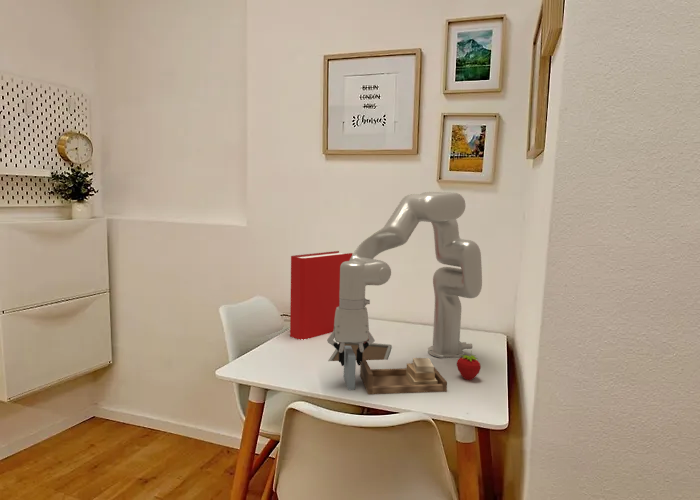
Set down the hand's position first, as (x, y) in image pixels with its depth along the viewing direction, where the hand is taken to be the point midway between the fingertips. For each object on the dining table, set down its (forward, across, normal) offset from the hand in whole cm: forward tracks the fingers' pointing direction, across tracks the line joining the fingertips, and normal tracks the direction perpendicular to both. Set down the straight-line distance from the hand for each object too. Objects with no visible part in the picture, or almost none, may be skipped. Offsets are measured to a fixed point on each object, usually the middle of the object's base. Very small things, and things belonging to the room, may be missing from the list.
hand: (350, 363), depth 143 cm
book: (+7, +4, -56) cm, 57 cm away
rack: (+7, -16, +2) cm, 17 cm away
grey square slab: (+7, 0, 0) cm, 7 cm away
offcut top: (+2, -22, +2) cm, 22 cm away
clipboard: (+8, -8, -26) cm, 28 cm away
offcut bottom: (+6, -22, +2) cm, 22 cm away
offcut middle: (+4, -21, +1) cm, 22 cm away
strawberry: (+7, -37, 0) cm, 38 cm away
